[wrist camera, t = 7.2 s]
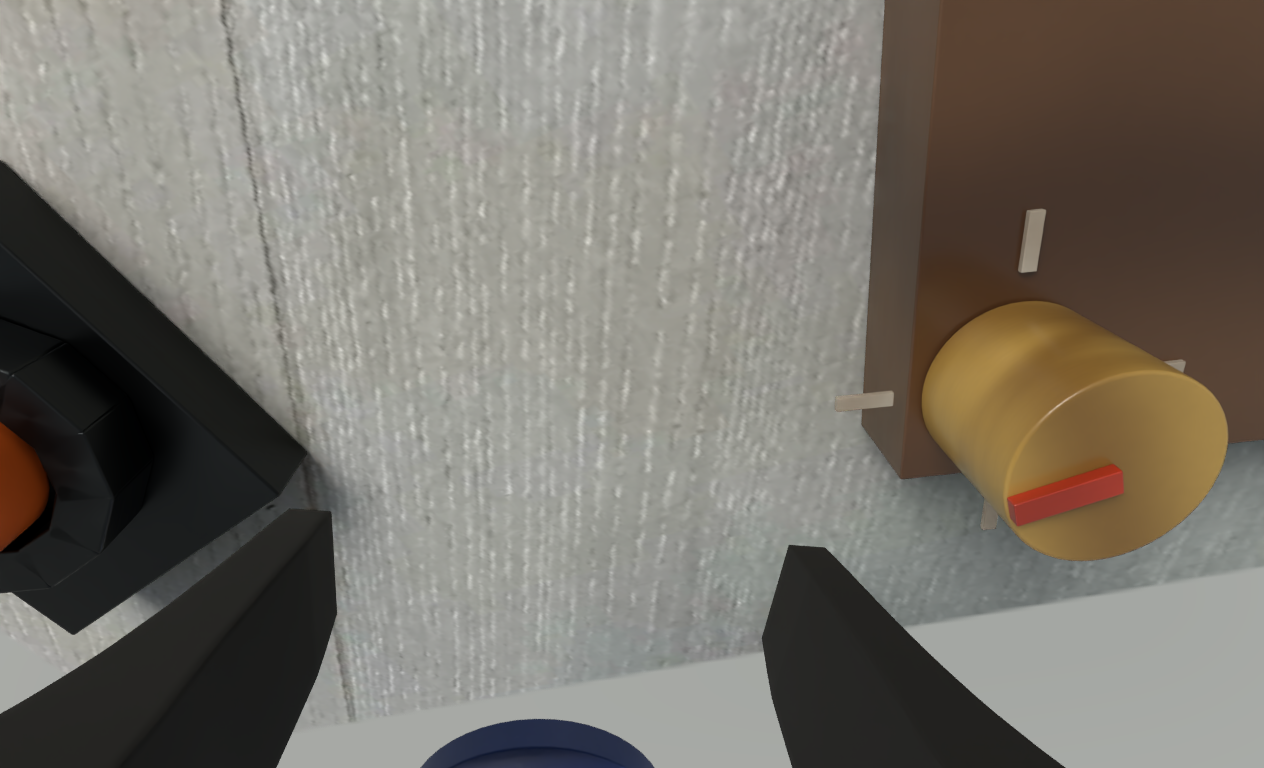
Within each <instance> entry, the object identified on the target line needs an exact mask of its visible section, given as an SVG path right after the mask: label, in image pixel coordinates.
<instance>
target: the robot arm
mask: <svg viewBox="0 0 1264 768" xmlns="http://www.w3.org/2000/svg"><path fill="white" fill-rule="evenodd" d="M336 615H337V604H336V586H335V568H334V550H333V532H332V514H331V511H317V510H304V509H289V510H287V511H286V512H285V513H283V514H282V515H281V516H279V517H278V518H277V519H276V520H274V521H273V522H272V523H271V524H269V525H268V526H267V527H266V528H264V529H263V530H262V531H261V532H259V533H258V534H257V535H256V536H255V537H253V538H252V539H251V540H250V541H249V542H247V543H246V544H245V545H244V546H242V547H241V548H240V549H239V550H238V551H236V552H235V553H234V554H233V555H231V556H230V557H229V558H228V559H226V560H225V561H224V562H223V563H221V564H220V565H219V566H218V567H216V568H215V569H214V570H213V571H211V572H210V573H209V574H208V575H206V576H205V577H204V578H202V579H201V580H200V581H199V582H197V583H196V584H195V585H193V586H192V587H191V588H190V589H188V590H187V591H186V592H184V593H183V594H182V595H181V596H179V597H178V598H177V599H175V600H174V601H173V602H171V603H170V604H169V605H167V606H166V607H165V608H163V609H162V610H161V611H159V612H158V613H156V614H155V615H154V616H152V617H151V618H149V619H148V620H147V621H145V622H144V623H142V624H141V625H140V626H138V627H137V628H135V629H134V630H133V631H131V632H130V633H128V634H127V635H126V636H124V637H123V638H121V639H120V640H119V641H117V642H116V643H114V644H113V645H111V646H110V647H108V648H107V649H106V650H104V651H103V652H101V653H100V654H98V655H97V656H95V657H93V658H92V659H90V660H89V661H87V662H86V663H84V664H83V665H81V666H79V667H78V668H76V669H75V670H73V671H72V672H70V673H68V674H67V675H65V676H63V677H62V678H60V679H59V680H57V681H55V682H54V683H52V684H50V685H49V686H47V687H45V688H44V689H42V690H41V691H39V692H37V693H36V694H34V695H32V696H31V697H29V698H27V699H26V700H24V701H22V702H20V703H19V704H17V705H15V706H14V707H12V708H10V709H8V710H7V711H5V712H3V713H1V714H0V768H276V767H277V765H278V763H279V760H280V758H281V756H282V754H283V752H284V749H285V747H286V745H287V743H288V741H289V738H290V736H291V734H292V732H293V730H294V728H295V725H296V723H297V721H298V719H299V716H300V714H301V712H302V710H303V707H304V705H305V703H306V701H307V699H308V696H309V694H310V692H311V689H312V687H313V685H314V683H315V680H316V678H317V676H318V673H319V670H320V666H321V663H322V660H323V657H324V654H325V651H326V648H327V645H328V641H329V638H330V635H331V631H332V628H333V625H334V622H335V618H336ZM762 642H763V648H764V655H765V661H766V668H767V674H768V679H769V685H770V690H771V696H772V700H773V704H774V707H775V711H776V714H777V718H778V721H779V724H780V728H781V731H782V734H783V738H784V741H785V745H786V748H787V752H788V755H789V758H790V761H791V765H792V768H1065V767H1064V766H1062V765H1061V764H1060V763H1058V762H1057V761H1056V760H1054V759H1053V758H1051V757H1050V756H1049V755H1048V754H1046V753H1045V752H1044V751H1042V750H1041V749H1040V748H1038V747H1037V746H1036V745H1034V744H1033V743H1032V742H1031V741H1030V740H1028V739H1027V738H1026V737H1024V736H1023V735H1022V734H1021V733H1019V732H1018V731H1017V730H1016V729H1014V728H1013V727H1012V726H1011V725H1010V724H1008V723H1007V722H1006V721H1005V720H1003V719H1002V718H1001V717H1000V716H998V715H997V714H996V713H995V712H994V711H992V710H991V709H990V708H989V707H988V706H986V705H985V704H984V703H983V702H982V701H981V700H979V699H978V698H977V697H976V696H975V695H974V694H972V693H971V692H970V691H969V690H968V689H967V688H966V687H965V686H964V685H963V684H962V683H960V682H959V681H958V680H957V679H956V678H955V677H954V676H953V675H952V674H951V673H949V672H948V671H947V670H946V669H945V668H944V667H943V666H942V665H941V664H940V663H939V662H938V661H936V660H935V659H934V658H933V657H932V656H931V655H930V654H929V653H928V652H927V651H926V650H925V649H924V648H923V647H922V646H921V645H920V644H919V643H918V642H917V641H916V640H915V639H914V638H913V637H912V636H910V634H909V633H908V632H907V631H906V630H905V629H904V628H903V627H902V626H901V625H900V624H899V623H898V622H897V621H896V620H895V619H894V618H893V617H892V616H891V615H890V614H889V613H888V612H887V611H886V610H885V609H884V608H883V607H882V606H881V605H880V604H879V603H878V602H877V601H876V600H875V599H874V598H873V596H872V595H871V594H870V593H869V592H868V591H867V590H866V589H865V588H864V587H863V586H862V585H861V584H860V583H859V582H858V581H857V580H856V579H855V578H854V577H853V576H852V574H851V573H850V572H849V571H848V570H847V569H846V568H845V567H844V566H843V565H842V564H841V563H840V562H839V561H838V560H837V559H836V558H835V557H834V556H833V555H832V554H831V553H830V552H829V551H828V550H827V549H826V548H823V547H810V546H796V545H789V546H788V550H787V553H786V557H785V560H784V564H783V567H782V570H781V574H780V577H779V581H778V584H777V588H776V591H775V595H774V598H773V601H772V605H771V608H770V612H769V615H768V619H767V622H766V626H765V629H764V632H763V636H762Z"/></svg>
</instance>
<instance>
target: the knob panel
mask: <svg viewBox="0 0 1264 768" xmlns="http://www.w3.org/2000/svg"><path fill="white" fill-rule="evenodd" d="M1023 301H1043V302H1050V303H1055V304H1059V305H1061V306H1064V307H1066V308H1069V309H1071V310H1072V311H1074V312H1076V313H1078V314H1080V315H1081V316H1083V317H1085V318H1087V319H1088V320H1090V321H1092V322H1094V323H1096V324H1097V325H1099V326H1101V327H1103V328H1104V329H1106V330H1108V331H1110V332H1112V333H1113V334H1115V335H1117V336H1119V337H1120V338H1122V339H1124V340H1126V341H1128V342H1129V343H1131V344H1133V345H1135V346H1136V347H1138V348H1140V349H1142V350H1144V351H1145V352H1147V353H1149V354H1151V355H1152V356H1154V357H1156V358H1158V359H1160V360H1161V361H1163V362H1165V363H1167V364H1168V365H1170V366H1172V367H1174V368H1176V369H1177V370H1179V371H1181V372H1183V373H1184V374H1186V375H1188V376H1190V377H1192V378H1193V379H1195V380H1196V381H1198V382H1200V383H1201V384H1203V385H1204V386H1205V387H1206V388H1207V389H1209V390H1210V391H1211V392H1212V393H1213V395H1214V396H1215V397H1216V399H1217V400H1218V401H1219V403H1220V405H1221V407H1222V409H1223V411H1224V414H1225V417H1226V421H1227V425H1228V444H1230V443H1239V442H1248V441H1257V440H1264V0H885V10H884V28H883V46H882V64H881V82H880V100H879V118H878V136H877V154H876V172H875V190H874V209H873V227H872V245H871V263H870V281H869V299H868V317H867V335H866V353H865V371H864V389H863V394H855V395H845V396H836V397H835V410H836V411H837V412H841V411H850V410H860V409H862V426H863V427H864V429H865V430H866V432H867V433H868V434H869V436H870V437H871V439H872V440H873V441H874V443H875V444H876V446H877V447H878V448H879V450H880V451H881V453H882V454H883V455H884V457H885V458H886V460H887V461H888V462H889V464H890V465H891V467H892V468H893V469H894V471H895V472H896V474H897V475H898V476H899V478H900V479H909V478H918V477H927V476H937V475H946V474H955V473H962V472H961V471H960V470H959V468H958V467H957V466H956V465H955V464H954V463H953V461H952V460H951V459H950V458H949V457H948V456H947V455H946V453H945V452H944V451H943V450H942V449H941V448H940V446H939V445H938V444H937V443H936V442H935V441H934V439H933V438H932V436H931V435H930V433H929V431H928V429H927V427H926V425H925V421H924V418H923V413H922V391H923V386H924V382H925V378H926V375H927V373H928V370H929V368H930V366H931V364H932V362H933V360H934V359H935V357H936V355H937V354H938V352H939V351H940V350H941V348H942V347H943V346H944V344H945V343H946V342H947V341H948V340H949V339H950V338H951V337H952V336H953V335H954V334H955V333H956V332H957V331H958V330H959V329H961V328H962V327H963V326H964V325H966V324H967V323H969V322H970V321H971V320H973V319H974V318H976V317H978V316H980V315H982V314H984V313H985V312H987V311H990V310H992V309H995V308H997V307H1000V306H1004V305H1007V304H1011V303H1017V302H1023ZM997 518H998V513H997V512H996V511H995V510H994V509H993V508H992V506H991V505H990V504H989V503H988V502H987V501H986V500H985V499H984V505H983V512H982V519H981V526H980V527H981V528H982V529H983V530H989V529H996V524H997Z"/></svg>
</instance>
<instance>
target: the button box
mask: <svg viewBox="0 0 1264 768" xmlns="http://www.w3.org/2000/svg"><path fill="white" fill-rule="evenodd" d="M0 422H1V423H2V424H3V425H5V426H6V427H7V428H8V429H10V430H11V431H12V432H13V433H15V434H16V435H17V436H18V437H20V438H21V439H22V440H23V441H25V442H26V443H27V444H28V445H30V446H31V447H32V448H33V449H34V450H35V451H36V453H37V456H38V458H39V460H40V462H41V464H42V466H43V468H44V470H45V472H46V474H47V476H48V479H49V487H50V491H49V498H48V502H47V505H46V507H45V509H44V511H43V513H42V514H41V516H40V517H39V518H38V519H37V520H36V521H35V522H34V523H33V524H32V525H31V526H29V527H28V528H27V529H26V530H25V531H24V532H23V533H21V534H20V535H19V536H18V537H17V538H16V539H15V540H14V541H12V542H11V543H10V544H9V545H8V546H7V547H6V548H5V549H3V550H2V551H1V552H0V593H9V592H12V593H13V594H15V595H16V596H17V597H19V598H20V599H22V600H23V601H25V602H26V603H27V604H29V605H30V606H32V607H33V608H35V609H36V610H37V611H39V612H40V613H42V614H43V615H45V616H46V617H47V618H49V619H50V620H52V621H53V622H55V623H56V624H57V625H59V626H60V627H62V628H63V629H65V630H66V631H67V632H69V633H70V634H72V635H75V634H77V633H78V632H79V631H81V630H82V629H84V628H85V627H87V626H88V625H90V624H91V623H93V622H94V621H96V620H97V619H99V618H100V617H102V616H103V615H104V614H106V613H107V612H109V611H110V610H112V609H113V608H115V607H116V606H118V605H119V604H121V603H122V602H124V601H125V600H127V599H128V598H130V597H131V596H132V595H134V594H135V593H137V592H138V591H140V590H141V589H143V588H144V587H146V586H147V585H149V584H150V583H152V582H153V581H155V580H156V579H157V578H159V577H160V576H162V575H163V574H165V573H166V572H168V571H169V570H171V569H172V568H174V567H175V566H177V565H178V564H180V563H181V562H182V561H184V560H185V559H187V558H188V557H190V556H191V555H193V554H194V553H196V552H197V551H199V550H200V549H202V548H203V547H205V546H206V545H208V544H209V543H210V542H212V541H213V540H215V539H216V538H218V537H219V536H221V535H222V534H224V533H225V532H227V531H228V530H230V529H231V528H233V527H234V526H235V525H237V524H238V523H240V522H241V521H243V520H244V519H246V518H247V517H249V516H250V515H252V514H253V513H255V512H256V511H258V510H259V509H260V508H262V507H263V506H265V505H266V504H268V503H269V502H271V501H272V500H274V499H275V498H277V497H278V496H279V495H280V494H281V492H282V491H283V489H284V488H285V486H286V485H287V483H288V482H289V480H290V479H291V477H292V476H293V474H294V473H295V471H296V470H297V468H298V467H299V465H300V464H301V462H302V461H303V459H304V458H305V456H306V454H307V452H306V451H305V450H304V449H303V448H302V447H301V446H300V445H299V444H298V443H297V442H296V441H295V440H294V439H293V438H292V437H291V436H290V435H289V434H287V433H286V432H285V431H284V430H283V429H282V428H281V427H280V426H279V425H278V424H277V423H276V422H275V421H274V420H273V419H272V418H271V417H270V416H269V415H267V414H266V413H265V412H264V411H263V410H262V409H261V408H260V407H259V406H258V405H257V404H256V403H255V402H254V401H253V400H252V399H251V398H250V397H249V396H248V395H246V394H245V393H244V392H243V391H242V390H241V389H240V388H239V387H238V386H237V385H236V384H235V383H234V382H233V381H232V380H231V379H230V378H229V377H228V376H226V375H225V374H224V373H223V372H222V371H221V370H220V369H219V368H218V367H217V366H216V365H215V364H214V363H213V362H212V361H211V360H210V359H209V358H208V357H206V356H205V355H204V354H203V353H202V352H201V351H200V350H199V349H198V348H197V347H196V346H195V345H194V344H193V343H192V342H191V341H190V340H189V339H188V338H187V337H185V336H184V335H183V334H182V333H181V332H180V331H179V330H178V329H177V328H176V327H175V326H174V325H173V324H172V323H171V322H170V321H169V320H168V319H167V318H165V317H164V316H163V315H162V314H161V313H160V312H159V311H158V310H157V309H156V308H155V307H154V306H153V305H152V304H151V303H150V302H149V301H148V300H147V299H145V298H144V297H143V296H142V295H141V294H140V293H139V292H138V291H137V290H136V289H135V288H134V287H133V286H132V285H131V284H130V283H129V282H128V281H127V280H126V279H124V278H123V277H122V276H121V275H120V274H119V273H118V272H117V271H116V270H115V269H114V268H113V267H112V266H111V265H110V264H109V263H108V262H107V261H106V260H104V259H103V258H102V257H101V256H100V255H99V254H98V253H97V252H96V251H95V250H94V249H93V248H92V247H91V246H90V245H89V244H88V243H87V242H86V241H84V240H83V239H82V238H81V237H80V236H79V235H78V234H77V233H76V232H75V231H74V230H73V229H72V228H71V227H70V226H69V225H68V224H67V223H66V222H65V221H63V220H62V219H61V218H60V217H59V216H58V215H57V214H56V213H55V212H54V211H53V210H52V209H51V208H50V207H49V206H48V205H47V204H46V203H45V202H43V201H42V200H41V199H40V198H39V197H38V196H37V195H36V194H35V193H34V192H33V191H32V190H31V189H30V188H29V187H28V186H27V185H26V184H25V183H24V182H22V181H21V180H20V179H19V178H18V177H17V176H16V175H15V174H14V173H13V172H12V171H11V170H10V169H9V168H8V167H7V166H6V165H5V164H4V163H2V162H1V161H0Z"/></svg>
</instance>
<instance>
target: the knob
mask: <svg viewBox="0 0 1264 768" xmlns="http://www.w3.org/2000/svg"><path fill="white" fill-rule="evenodd" d="M922 413H923V418H924V421H925V425H926V427H927V429H928V431H929V433H930V435H931V436H932V438H933V439H934V441H935V442H936V443H937V444H938V445H939V446H940V448H941V449H942V450H943V451H944V452H945V453H946V455H947V456H948V457H949V458H950V459H951V460H952V461H953V463H954V464H955V465H956V466H957V467H958V468H959V470H960V471H961V472H962V473H963V474H964V475H965V476H966V478H967V479H968V480H969V481H970V482H971V483H972V485H973V486H974V487H975V488H976V489H977V490H978V491H979V493H980V494H981V495H982V496H983V497H984V498H985V500H986V501H987V502H988V503H989V504H990V505H991V506H992V508H993V509H994V510H995V511H996V512H997V513H998V515H999V516H1000V517H1001V518H1002V519H1003V520H1004V521H1005V523H1006V524H1007V525H1008V526H1009V527H1010V528H1011V530H1012V531H1013V532H1014V533H1015V534H1016V535H1017V536H1018V537H1019V538H1020V539H1021V540H1022V541H1023V542H1024V543H1025V544H1027V545H1028V546H1029V547H1031V548H1032V549H1034V550H1036V551H1038V552H1040V553H1042V554H1045V555H1048V556H1051V557H1054V558H1057V559H1063V560H1069V561H1093V560H1100V559H1107V558H1111V557H1115V556H1119V555H1122V554H1125V553H1128V552H1131V551H1134V550H1136V549H1138V548H1140V547H1143V546H1145V545H1147V544H1149V543H1151V542H1153V541H1154V540H1156V539H1158V538H1160V537H1161V536H1163V535H1164V534H1166V533H1167V532H1169V531H1170V530H1172V529H1173V528H1174V527H1176V526H1177V525H1178V524H1179V523H1181V522H1182V521H1183V520H1184V519H1185V518H1186V517H1187V516H1188V515H1189V514H1191V513H1192V512H1193V511H1194V510H1195V509H1196V507H1197V506H1198V505H1199V504H1200V503H1201V502H1202V500H1203V499H1204V498H1205V497H1206V495H1207V494H1208V492H1209V491H1210V489H1211V488H1212V486H1213V485H1214V483H1215V481H1216V479H1217V477H1218V476H1219V474H1220V471H1221V469H1222V466H1223V463H1224V461H1225V457H1226V452H1227V447H1228V425H1227V421H1226V417H1225V414H1224V411H1223V409H1222V407H1221V405H1220V403H1219V401H1218V400H1217V399H1216V397H1215V396H1214V395H1213V393H1212V392H1211V391H1210V390H1209V389H1207V388H1206V387H1205V386H1204V385H1203V384H1201V383H1200V382H1198V381H1196V380H1195V379H1193V378H1192V377H1190V376H1188V375H1186V374H1184V373H1183V372H1181V371H1179V370H1177V369H1176V368H1174V367H1172V366H1170V365H1168V364H1167V363H1165V362H1163V361H1161V360H1160V359H1158V358H1156V357H1154V356H1152V355H1151V354H1149V353H1147V352H1145V351H1144V350H1142V349H1140V348H1138V347H1136V346H1135V345H1133V344H1131V343H1129V342H1128V341H1126V340H1124V339H1122V338H1120V337H1119V336H1117V335H1115V334H1113V333H1112V332H1110V331H1108V330H1106V329H1104V328H1103V327H1101V326H1099V325H1097V324H1096V323H1094V322H1092V321H1090V320H1088V319H1087V318H1085V317H1083V316H1081V315H1080V314H1078V313H1076V312H1074V311H1072V310H1071V309H1069V308H1066V307H1064V306H1061V305H1059V304H1055V303H1050V302H1043V301H1023V302H1017V303H1011V304H1007V305H1004V306H1000V307H997V308H995V309H992V310H990V311H987V312H985V313H984V314H982V315H980V316H978V317H976V318H974V319H973V320H971V321H970V322H969V323H967V324H966V325H964V326H963V327H962V328H961V329H959V330H958V331H957V332H956V333H955V334H954V335H953V336H952V337H951V338H950V339H949V340H948V341H947V342H946V343H945V344H944V346H943V347H942V348H941V350H940V351H939V352H938V354H937V355H936V357H935V359H934V360H933V362H932V364H931V366H930V368H929V370H928V373H927V375H926V378H925V382H924V386H923V391H922Z"/></svg>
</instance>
